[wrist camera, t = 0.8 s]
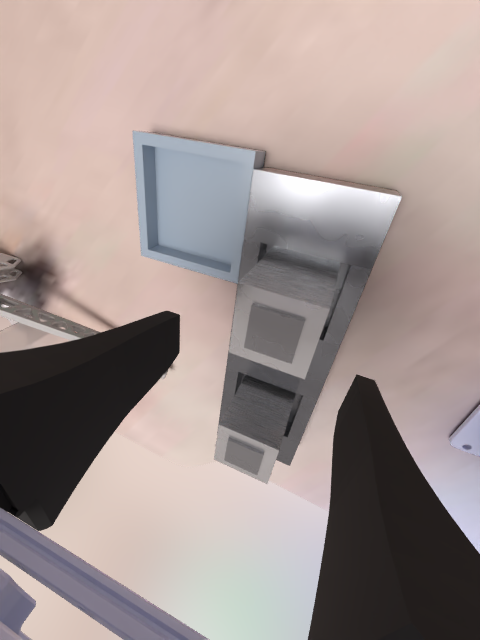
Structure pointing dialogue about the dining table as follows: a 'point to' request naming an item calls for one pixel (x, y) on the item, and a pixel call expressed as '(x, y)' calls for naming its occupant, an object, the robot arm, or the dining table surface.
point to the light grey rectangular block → (283, 310)
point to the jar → (26, 338)
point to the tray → (193, 201)
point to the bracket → (37, 310)
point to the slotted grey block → (254, 428)
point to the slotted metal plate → (321, 241)
